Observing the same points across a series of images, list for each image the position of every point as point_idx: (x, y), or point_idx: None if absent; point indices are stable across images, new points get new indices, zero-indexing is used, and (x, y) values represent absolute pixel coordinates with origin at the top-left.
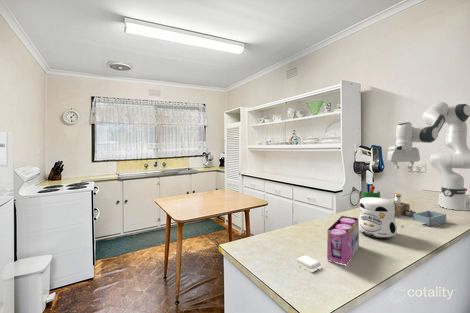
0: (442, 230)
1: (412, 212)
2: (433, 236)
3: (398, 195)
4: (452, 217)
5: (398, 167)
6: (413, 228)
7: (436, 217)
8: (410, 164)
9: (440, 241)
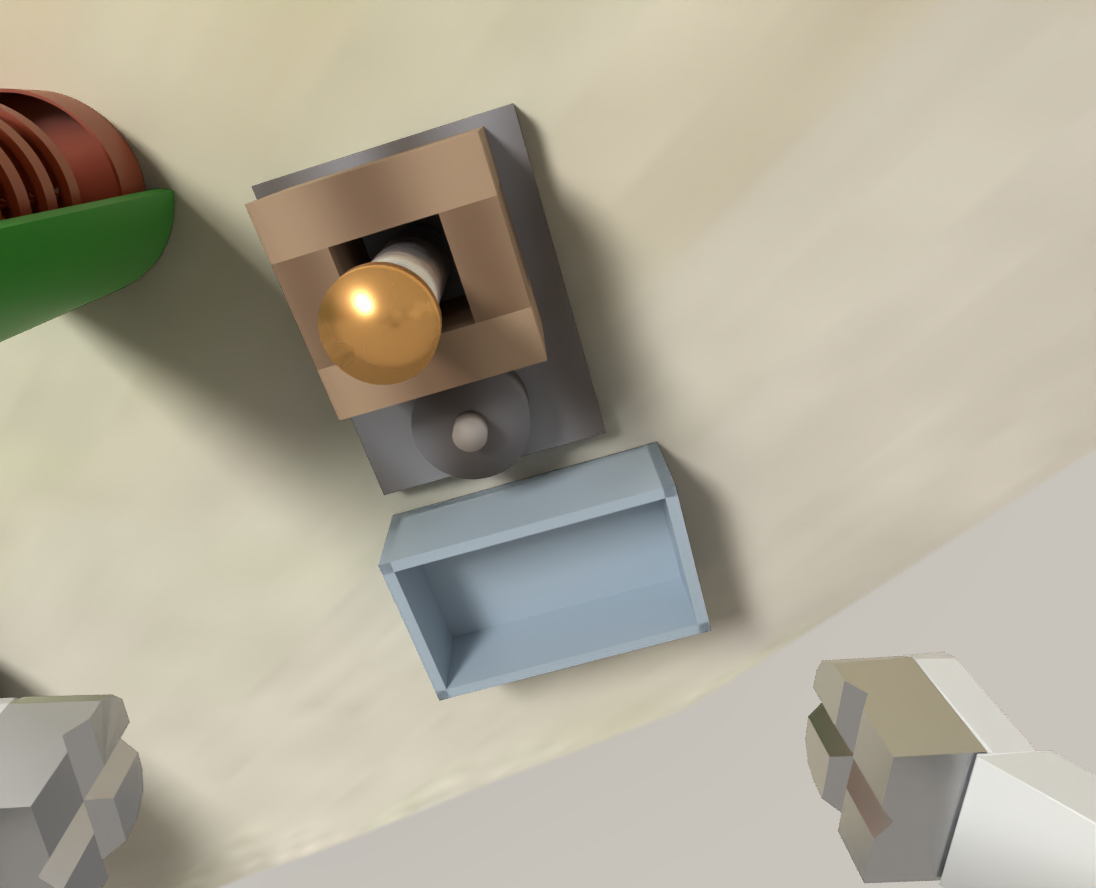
0: (478, 710)
1: (477, 451)
2: (304, 786)
3: (355, 375)
4: (926, 458)
5: (86, 864)
6: (273, 647)
7: (541, 668)
8: (1062, 868)
9: (282, 848)
